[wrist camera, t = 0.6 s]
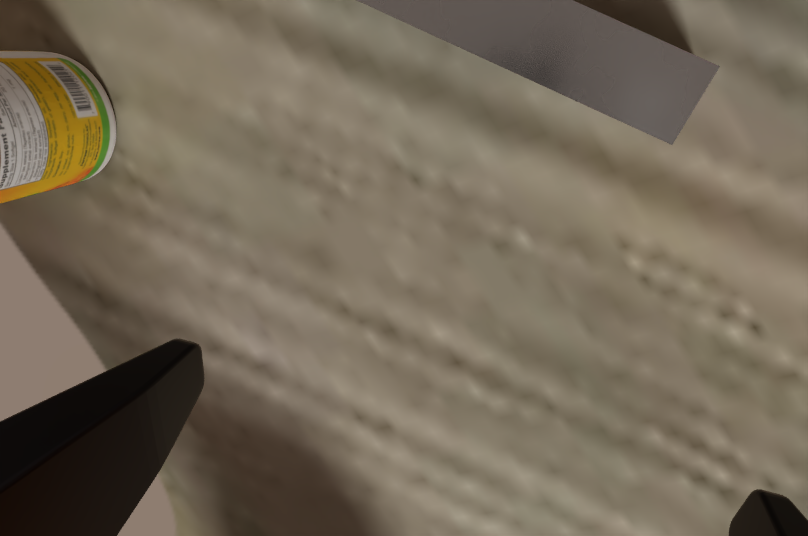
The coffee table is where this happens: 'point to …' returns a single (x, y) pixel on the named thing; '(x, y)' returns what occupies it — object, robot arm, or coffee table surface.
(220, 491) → the coffee table surface
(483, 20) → the price rail
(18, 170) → the supplement bottle
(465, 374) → the coffee table surface
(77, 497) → the robot arm
